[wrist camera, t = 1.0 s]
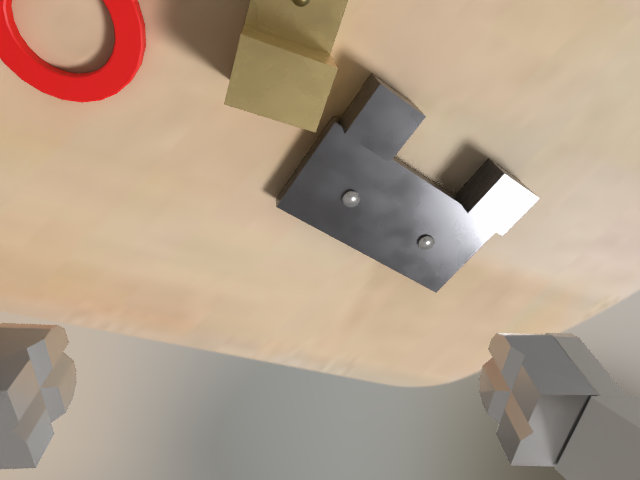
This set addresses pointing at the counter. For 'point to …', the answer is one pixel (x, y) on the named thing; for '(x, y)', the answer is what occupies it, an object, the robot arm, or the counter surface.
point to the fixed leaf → (397, 193)
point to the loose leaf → (286, 60)
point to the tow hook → (84, 87)
